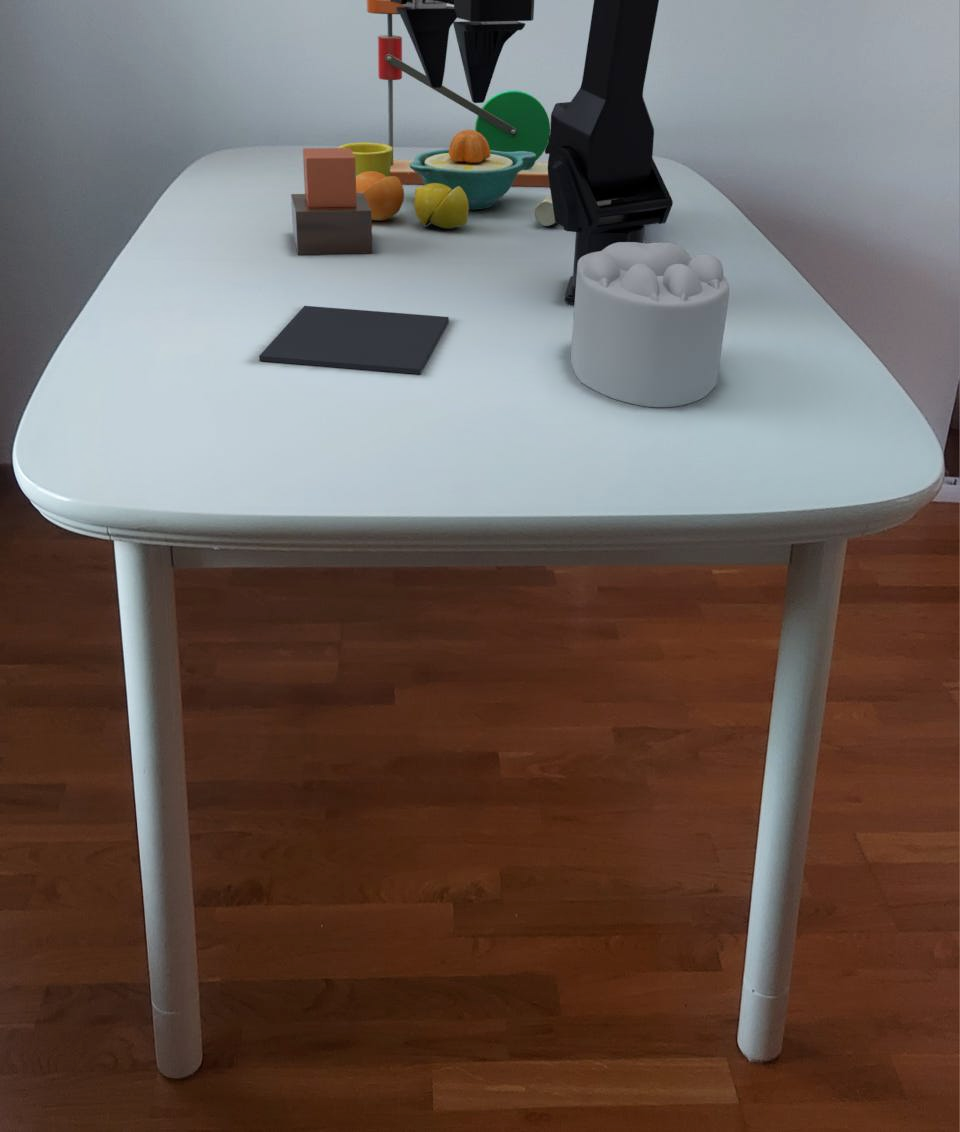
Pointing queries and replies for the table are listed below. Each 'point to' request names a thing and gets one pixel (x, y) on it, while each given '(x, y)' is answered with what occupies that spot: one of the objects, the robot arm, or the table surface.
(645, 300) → the lumpy-topped squat cylinder
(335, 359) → the mat
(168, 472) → the table surface
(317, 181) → the top block
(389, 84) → the crank mechanism
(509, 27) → the robot arm
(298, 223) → the base block
